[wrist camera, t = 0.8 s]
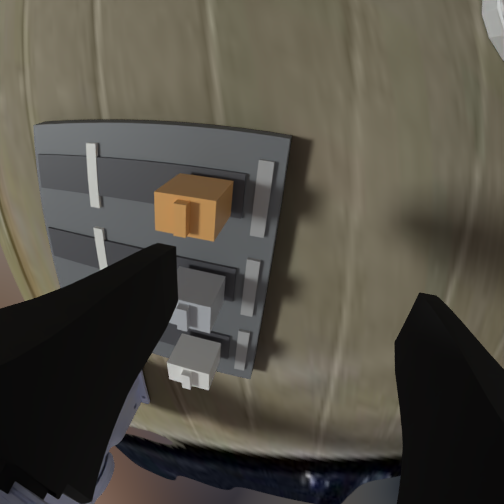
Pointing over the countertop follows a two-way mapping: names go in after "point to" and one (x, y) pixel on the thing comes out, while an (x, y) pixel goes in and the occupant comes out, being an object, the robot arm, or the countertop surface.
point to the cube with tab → (194, 362)
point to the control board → (143, 212)
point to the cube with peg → (198, 299)
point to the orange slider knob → (193, 206)
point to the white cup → (494, 23)
